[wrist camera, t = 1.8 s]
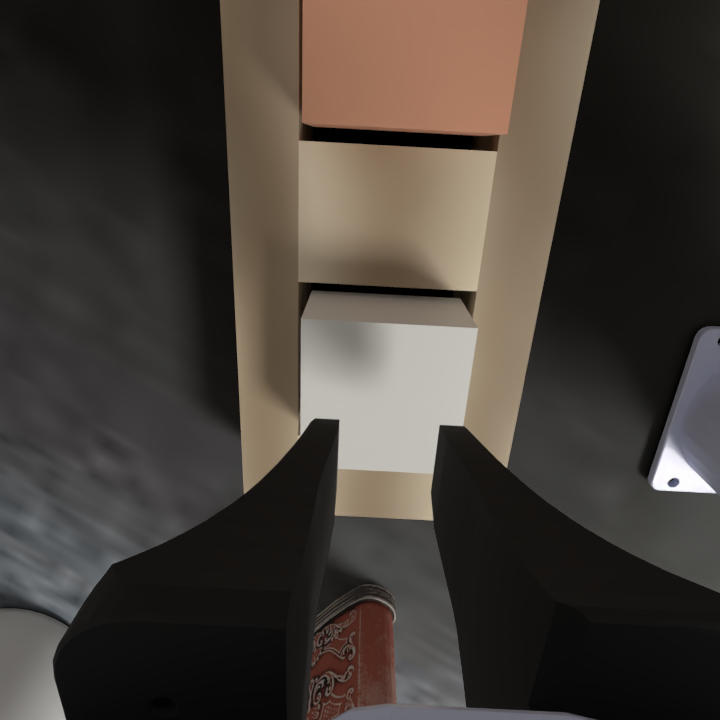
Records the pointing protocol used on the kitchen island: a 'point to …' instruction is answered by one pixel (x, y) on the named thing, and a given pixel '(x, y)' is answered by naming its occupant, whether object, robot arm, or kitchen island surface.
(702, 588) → the robot arm
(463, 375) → the grey button
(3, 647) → the milk bottle
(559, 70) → the button panel
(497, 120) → the terracotta button
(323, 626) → the lighter
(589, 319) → the kitchen island surface
